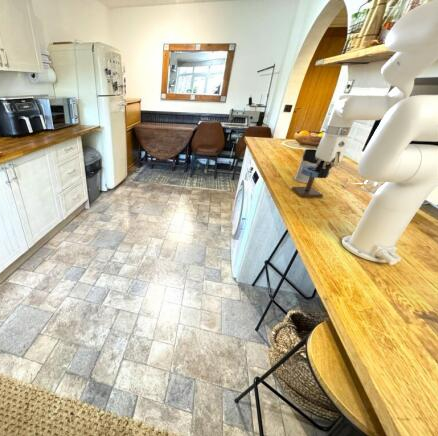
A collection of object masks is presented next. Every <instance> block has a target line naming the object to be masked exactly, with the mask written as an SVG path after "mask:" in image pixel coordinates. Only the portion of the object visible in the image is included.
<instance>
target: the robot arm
mask: <svg viewBox="0 0 438 436" xmlns="http://www.w3.org/2000/svg"><path fill="white" fill-rule="evenodd" d="M385 49H386V50H387V51H389V52H391V53H392V52H393V53H394V54H393V55H392V56H391V57H390V58H389V59H388V60H387V61H385V63H384V64H383V65H382V67H381V71H380V73H381V77H382V79H383V80H384V81H385V82H386V83H387V84H389V85H390V86H392V87H393V88H392V89H391V90H390V91H389V92H387V93H386V94H385V95H355V94H354V95H353V94H343V95H339V96H338V97H337V99H336V101H335V103H334V106H333V108H332V112H331V114H330V117H329V119H328V122H327V126H326V128H325V131H324V133H323V135H322V137H321V139H320V141H319V143H318V145H317V148H316V150H317V151H316V156H315V158H316V160H317V164H316V166H317V167H316V169H315V172H319V175H318V178H317V179H326V178H328V177H327V174H328V172H329V173H330V170H331V169H332V168H333V167H338V164H339V163H341V162H342V160H343V158H344V155H345V152H346V149H347V146H348V143H349V134H350V131H351V129H352V126H353V124H354V122H355V121H380V122H379V125H378V126H377V128H376V129H375V131H374V133H373V135H372V136H371V138H370V139H369V141H368V143H367V145H366V146H365V148H364V150H363V152H362V154H361V156H360V158H359V160H358V163H357V173H358V175H359V177H360V178H362V179H363V180H365V181H366V180H368V181H376V182H382V184H381V187H380V188H379V189H378V190H377V191H376V192H375V191H374V194H373V195H372V197H371V199H370V201H369V203H368V204H367V206H366V208H365V210H364V211H363V214H362V216H361V218H360V219H359V221H358V223H357V225H356V227H355V229H354V231H353V233H352V234H349V235H345V236H344V237H343V238H342V240H341V243H342V246H343V247H344V249H346V250H347V251H348V252H350V253H352V254H353V255H355V256H357V257H359V258H361V259H364V260H367V261H370V262H375V263H381V264H383V263H387V264H389V265H390V266H394V265H396V264H398V262H400V261H402V259H403V258H402V257H401V256H399V255H398V254H396V251H397V250H398V246H397V245H396V244H397V242H398V241H399V239H400V238H401V236H402V235H403V233H404V232H405V230H406V229H407V227H408V226H409V224H410V223H411V221H412V220H413V218H414V216H416V214H417V212H418V211H419V210H420V208H421V206H422V205H423V204H424V202H425V201H426V199H427V198H428V197H429V195H430V194H431V193H432V192H433V191H434V190H435V189H436V187H438V145H435V144H419V143H418V144H417V143H411V142H434V143H435V142H436V143H437V142H438V94H418V95H417V94H416V95H411V94H412V92H413V89H414V86H415V79H416V78H417V77H419V76H420V75H421V74H422V73H423V72H425V71H426V70H427V69H428V68H429V67H431V66H432V65H433V64H434V63H435V62H436V61H438V0H431V1H428V2H425V3H423V4H420V5H418V6H416V7H413V8H412V9H410V10H409V11H407V12H406V13H404V14H403V15H402V16H401V17H400V18H399V19H398V20H396V22H394V24H393V26H392V27H391V28H390V30H389V32H388V33H387V35H386V38H385ZM329 169H330V170H329Z"/></svg>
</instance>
